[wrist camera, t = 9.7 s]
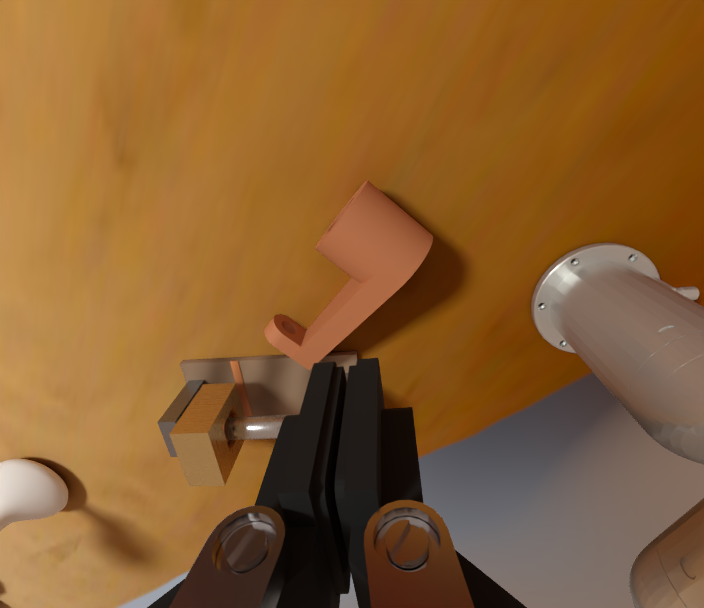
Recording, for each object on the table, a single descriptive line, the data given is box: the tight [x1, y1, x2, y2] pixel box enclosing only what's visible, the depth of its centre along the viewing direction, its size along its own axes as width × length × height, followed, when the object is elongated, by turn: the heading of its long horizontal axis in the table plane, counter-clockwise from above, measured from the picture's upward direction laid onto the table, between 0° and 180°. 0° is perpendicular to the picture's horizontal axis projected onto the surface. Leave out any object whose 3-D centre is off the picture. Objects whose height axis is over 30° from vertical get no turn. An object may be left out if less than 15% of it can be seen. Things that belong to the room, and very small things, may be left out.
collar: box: [169, 383, 245, 486], centre depth 43 cm, size 4×7×8 cm, turn 6°
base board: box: [180, 351, 357, 416], centre depth 49 cm, size 22×10×1 cm, turn 96°
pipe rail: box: [158, 373, 348, 457], centre depth 46 cm, size 21×5×8 cm, turn 96°
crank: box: [264, 180, 433, 370], centre depth 39 cm, size 20×8×8 cm, turn 142°
